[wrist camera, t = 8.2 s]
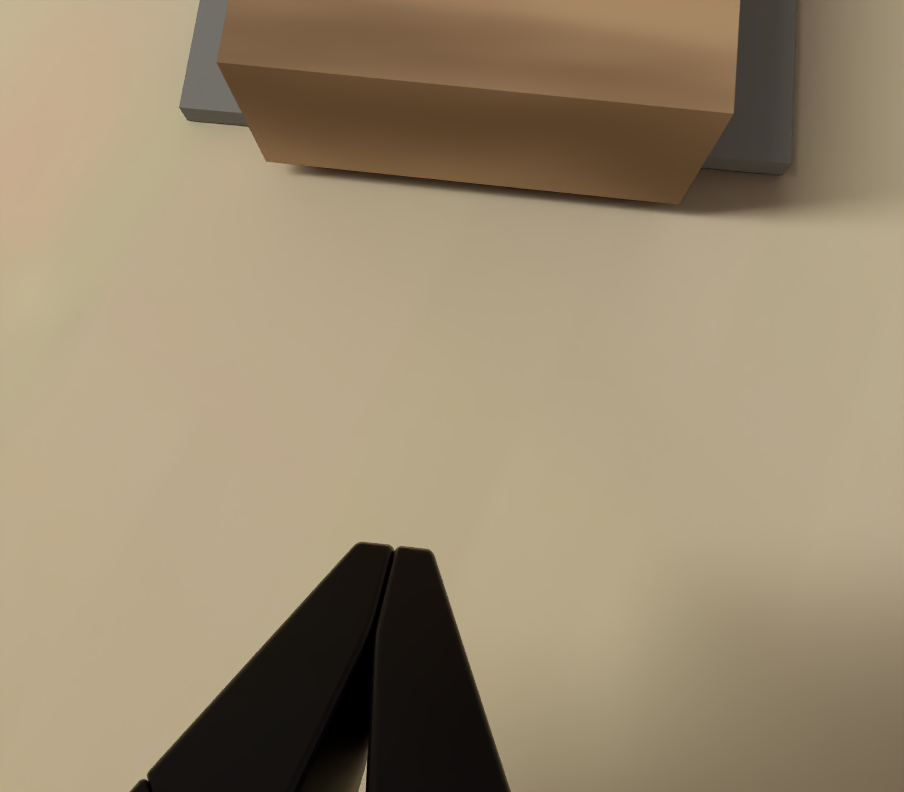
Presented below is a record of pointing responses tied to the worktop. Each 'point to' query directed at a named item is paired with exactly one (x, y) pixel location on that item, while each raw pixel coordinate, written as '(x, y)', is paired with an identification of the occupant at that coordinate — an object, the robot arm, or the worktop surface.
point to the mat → (738, 149)
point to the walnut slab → (489, 89)
